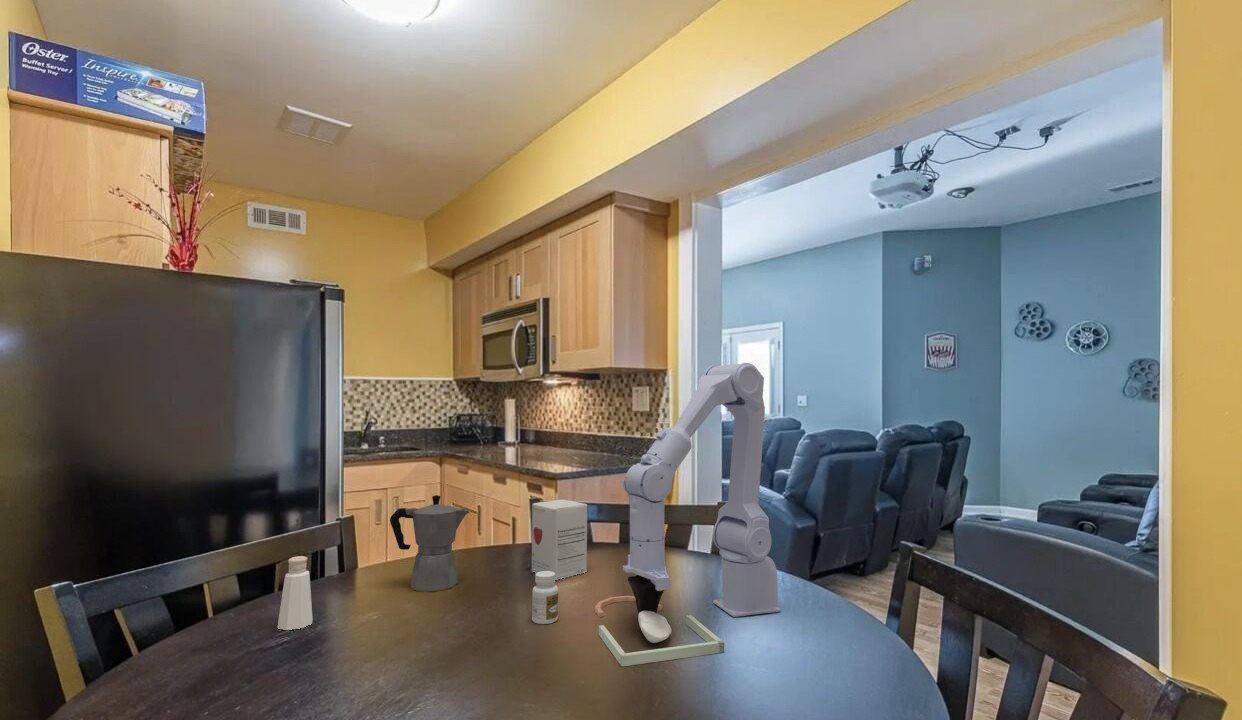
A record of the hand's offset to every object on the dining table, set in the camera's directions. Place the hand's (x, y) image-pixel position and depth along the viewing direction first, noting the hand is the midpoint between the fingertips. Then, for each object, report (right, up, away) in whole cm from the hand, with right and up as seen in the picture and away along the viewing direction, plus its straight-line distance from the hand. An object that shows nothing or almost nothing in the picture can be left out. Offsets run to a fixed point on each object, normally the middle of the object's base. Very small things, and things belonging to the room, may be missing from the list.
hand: (647, 622), depth 96 cm
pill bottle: (-17, -2, +5) cm, 18 cm away
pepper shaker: (-58, -2, +2) cm, 58 cm away
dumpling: (+1, -1, -4) cm, 4 cm away
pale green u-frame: (+2, -1, -5) cm, 5 cm away
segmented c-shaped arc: (-4, -2, +11) cm, 12 cm away
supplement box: (-18, -4, +33) cm, 37 cm away
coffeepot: (-43, -3, +24) cm, 49 cm away
